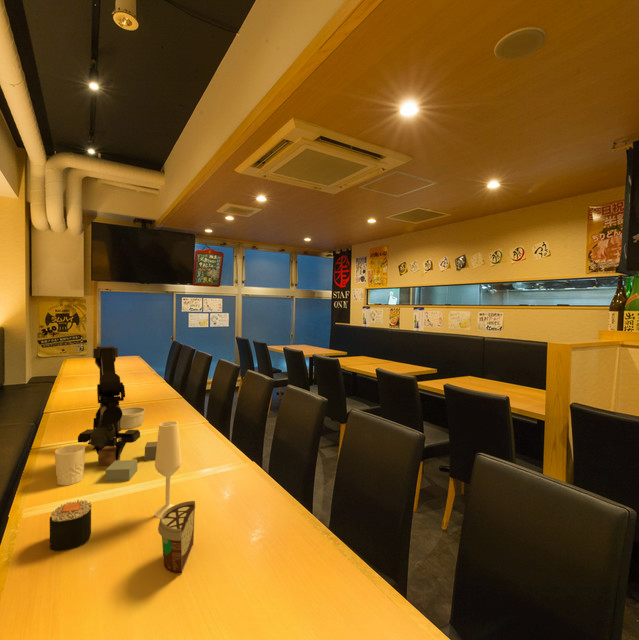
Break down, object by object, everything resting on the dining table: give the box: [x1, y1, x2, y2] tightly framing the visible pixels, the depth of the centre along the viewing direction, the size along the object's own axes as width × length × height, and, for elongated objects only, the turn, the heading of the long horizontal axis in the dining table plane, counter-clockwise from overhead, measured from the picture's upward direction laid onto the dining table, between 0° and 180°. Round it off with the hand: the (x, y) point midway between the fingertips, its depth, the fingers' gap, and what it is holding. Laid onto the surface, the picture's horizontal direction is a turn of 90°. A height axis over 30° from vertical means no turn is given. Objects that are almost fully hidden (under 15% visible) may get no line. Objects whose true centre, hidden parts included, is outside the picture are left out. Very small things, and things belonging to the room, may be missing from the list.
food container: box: [157, 500, 196, 575], centre depth 81 cm, size 12×6×10 cm, turn 5°
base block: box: [105, 459, 138, 483], centre depth 120 cm, size 7×7×4 cm
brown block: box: [144, 441, 157, 462], centre depth 135 cm, size 5×5×5 cm
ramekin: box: [120, 406, 146, 430], centre depth 170 cm, size 13×13×7 cm
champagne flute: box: [154, 420, 183, 519], centre depth 100 cm, size 7×7×24 cm
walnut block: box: [97, 445, 121, 467], centre depth 129 cm, size 5×5×5 cm
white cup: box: [54, 444, 86, 486], centre depth 116 cm, size 8×8×10 cm
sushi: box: [49, 499, 93, 552], centre depth 87 cm, size 8×8×8 cm
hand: (109, 460), depth 129 cm, fingers closed on walnut block, 5 cm apart
